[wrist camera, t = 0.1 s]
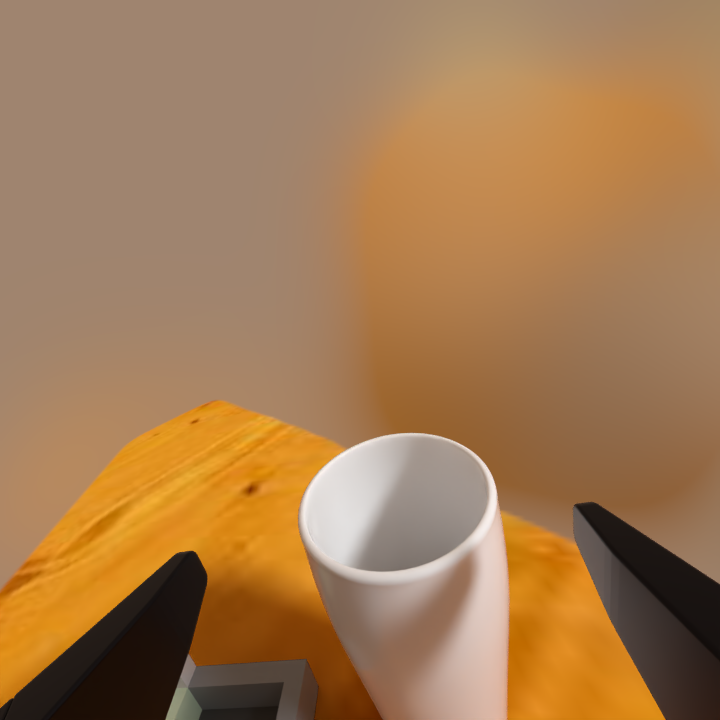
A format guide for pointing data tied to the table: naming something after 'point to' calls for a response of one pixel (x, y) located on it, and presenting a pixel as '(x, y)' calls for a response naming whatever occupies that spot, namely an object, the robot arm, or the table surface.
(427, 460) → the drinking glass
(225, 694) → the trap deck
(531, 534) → the table surface
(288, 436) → the table surface
